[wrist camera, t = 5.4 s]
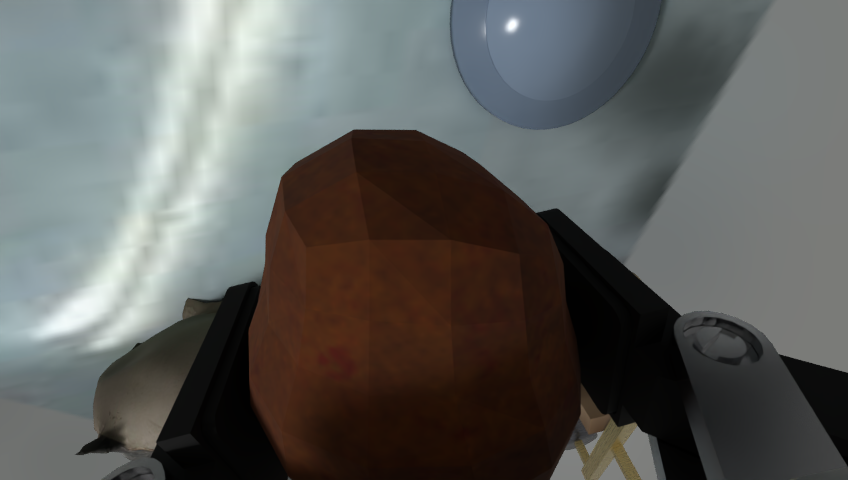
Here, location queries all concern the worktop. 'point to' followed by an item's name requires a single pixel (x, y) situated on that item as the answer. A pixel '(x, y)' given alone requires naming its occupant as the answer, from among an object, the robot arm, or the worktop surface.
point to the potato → (410, 320)
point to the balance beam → (604, 449)
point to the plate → (548, 54)
